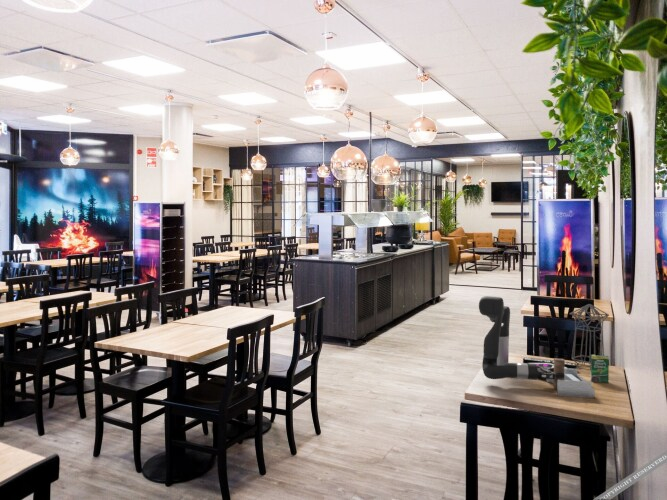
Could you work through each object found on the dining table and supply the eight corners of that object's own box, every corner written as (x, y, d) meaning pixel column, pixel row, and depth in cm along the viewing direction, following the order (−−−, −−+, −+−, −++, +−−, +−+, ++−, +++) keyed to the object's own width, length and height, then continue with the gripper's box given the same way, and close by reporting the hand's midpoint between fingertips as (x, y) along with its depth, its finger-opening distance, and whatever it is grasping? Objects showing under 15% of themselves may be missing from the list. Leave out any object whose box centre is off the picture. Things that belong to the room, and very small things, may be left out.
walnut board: (554, 389, 250) (555, 360, 250) (553, 387, 253) (554, 358, 253) (563, 389, 250) (564, 360, 249) (562, 387, 253) (562, 358, 252)
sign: (524, 363, 298) (515, 377, 272) (524, 357, 298) (515, 369, 272) (577, 370, 286) (573, 384, 259) (577, 363, 286) (573, 377, 259)
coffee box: (590, 381, 264) (591, 355, 263) (590, 379, 266) (590, 354, 266) (608, 383, 260) (609, 357, 260) (608, 381, 263) (608, 355, 262)
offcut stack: (572, 394, 244) (573, 381, 244) (563, 386, 256) (564, 373, 256) (580, 394, 244) (581, 381, 243) (571, 386, 256) (571, 374, 255)
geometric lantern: (580, 362, 300) (582, 301, 298) (609, 369, 287) (611, 304, 286) (566, 367, 290) (567, 303, 289) (594, 373, 278) (596, 307, 276)
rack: (557, 395, 241) (558, 380, 240) (546, 381, 263) (546, 367, 263) (594, 397, 238) (594, 382, 238) (579, 383, 261) (579, 369, 260)
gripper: (529, 367, 246) (566, 369, 244) (523, 359, 260) (558, 361, 258) (528, 383, 247) (565, 385, 244) (523, 374, 261) (557, 376, 258)
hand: (561, 373), depth 251 cm, fingers open, 8 cm apart
